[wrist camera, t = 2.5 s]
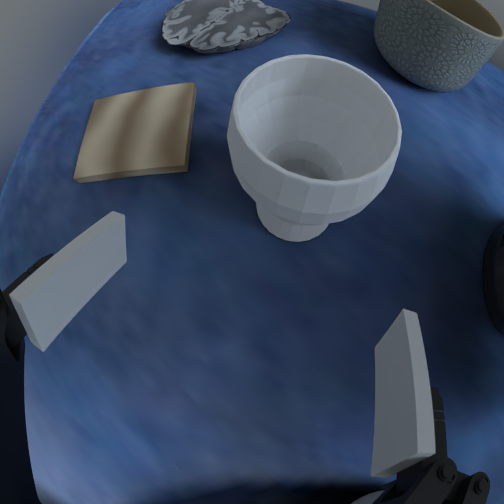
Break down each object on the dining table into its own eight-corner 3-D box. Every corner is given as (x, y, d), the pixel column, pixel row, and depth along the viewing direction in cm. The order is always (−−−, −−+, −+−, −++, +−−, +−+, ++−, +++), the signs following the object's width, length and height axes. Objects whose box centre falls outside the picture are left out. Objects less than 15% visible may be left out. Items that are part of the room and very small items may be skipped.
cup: (338, 156, 30) (381, 55, 15) (353, 253, 28) (432, 197, 13) (239, 160, 30) (222, 51, 15) (243, 260, 28) (222, 202, 13)
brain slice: (139, 51, 35) (133, 39, 33) (202, 0, 38) (199, -11, 35) (248, 80, 33) (247, 64, 30) (302, 22, 36) (304, 9, 33)
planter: (358, 23, 35) (377, -47, 20) (445, 51, 34) (476, -6, 19) (371, 88, 32) (407, -1, 17) (471, 120, 31) (524, 59, 16)
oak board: (196, 89, 32) (194, 81, 31) (187, 171, 30) (184, 165, 29) (99, 106, 33) (95, 100, 32) (79, 183, 31) (73, 178, 29)
